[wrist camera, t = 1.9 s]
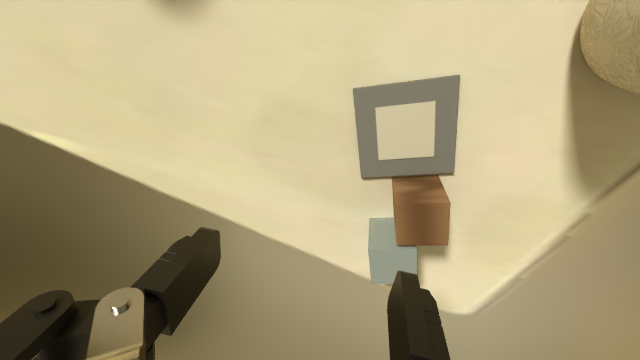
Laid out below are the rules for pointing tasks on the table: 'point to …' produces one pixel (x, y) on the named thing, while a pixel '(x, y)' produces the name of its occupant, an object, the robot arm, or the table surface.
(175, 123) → the table surface
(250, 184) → the table surface
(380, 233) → the blue grey block
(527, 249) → the table surface
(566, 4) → the table surface
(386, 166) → the pad
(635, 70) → the planter
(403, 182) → the walnut block
